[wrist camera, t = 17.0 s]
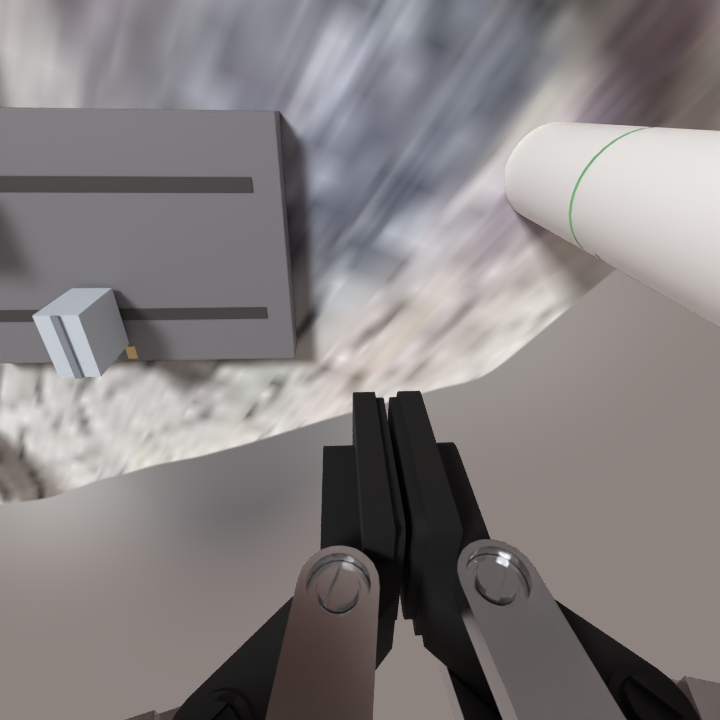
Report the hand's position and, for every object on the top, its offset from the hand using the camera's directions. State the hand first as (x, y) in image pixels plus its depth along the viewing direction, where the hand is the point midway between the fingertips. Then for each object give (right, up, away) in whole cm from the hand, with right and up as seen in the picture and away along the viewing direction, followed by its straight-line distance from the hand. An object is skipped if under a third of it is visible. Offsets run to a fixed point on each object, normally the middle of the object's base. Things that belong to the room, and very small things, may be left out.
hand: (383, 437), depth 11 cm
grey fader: (-22, +5, +23) cm, 32 cm away
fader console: (-21, +12, +23) cm, 33 cm away
